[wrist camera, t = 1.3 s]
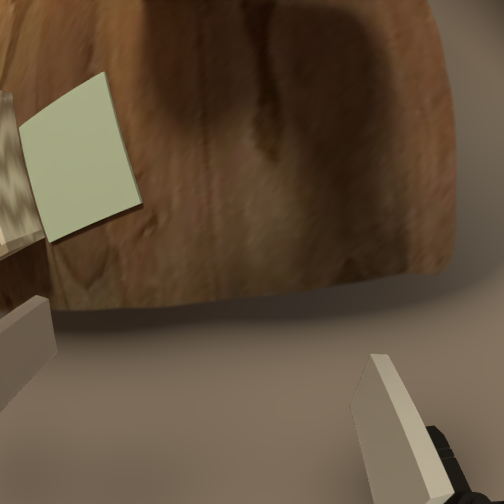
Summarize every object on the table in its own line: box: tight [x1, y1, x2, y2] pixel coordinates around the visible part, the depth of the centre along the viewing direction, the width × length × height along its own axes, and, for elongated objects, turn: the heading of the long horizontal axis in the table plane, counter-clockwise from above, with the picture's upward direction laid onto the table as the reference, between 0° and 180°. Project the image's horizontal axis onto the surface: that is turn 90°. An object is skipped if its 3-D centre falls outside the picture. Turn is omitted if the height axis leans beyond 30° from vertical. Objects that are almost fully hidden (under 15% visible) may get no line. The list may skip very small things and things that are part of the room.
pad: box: [19, 72, 143, 243], centre depth 34 cm, size 18×16×1 cm
